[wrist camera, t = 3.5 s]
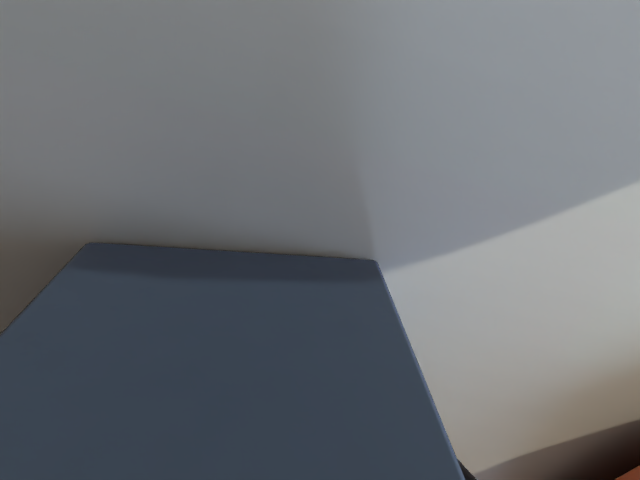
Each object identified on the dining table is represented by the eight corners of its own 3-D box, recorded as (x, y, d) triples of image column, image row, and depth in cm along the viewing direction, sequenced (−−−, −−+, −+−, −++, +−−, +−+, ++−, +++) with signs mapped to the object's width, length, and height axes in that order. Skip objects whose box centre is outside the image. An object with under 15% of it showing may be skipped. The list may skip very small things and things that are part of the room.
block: (85, 240, 7) (-210, 549, 3) (378, 258, 7) (496, 544, 3) (111, 453, 9) (-44, 829, 5) (343, 456, 9) (391, 799, 5)
